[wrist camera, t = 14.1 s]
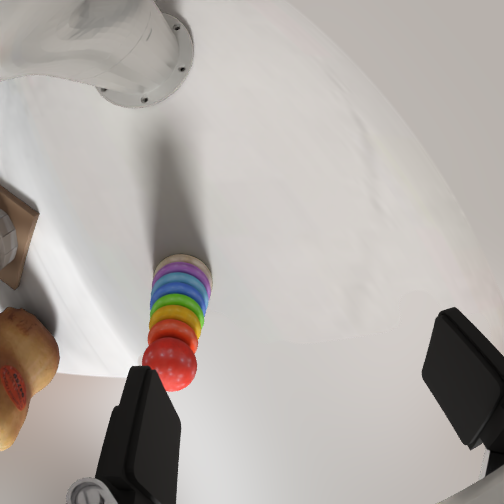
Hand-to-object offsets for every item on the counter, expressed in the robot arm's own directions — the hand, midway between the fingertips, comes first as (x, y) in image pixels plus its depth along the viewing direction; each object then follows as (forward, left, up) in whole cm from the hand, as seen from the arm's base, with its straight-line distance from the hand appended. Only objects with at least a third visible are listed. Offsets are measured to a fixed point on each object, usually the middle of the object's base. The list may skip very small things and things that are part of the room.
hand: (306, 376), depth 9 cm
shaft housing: (-1, -38, -30) cm, 49 cm away
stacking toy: (+11, -10, -31) cm, 34 cm away
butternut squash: (+17, -39, -31) cm, 52 cm away
